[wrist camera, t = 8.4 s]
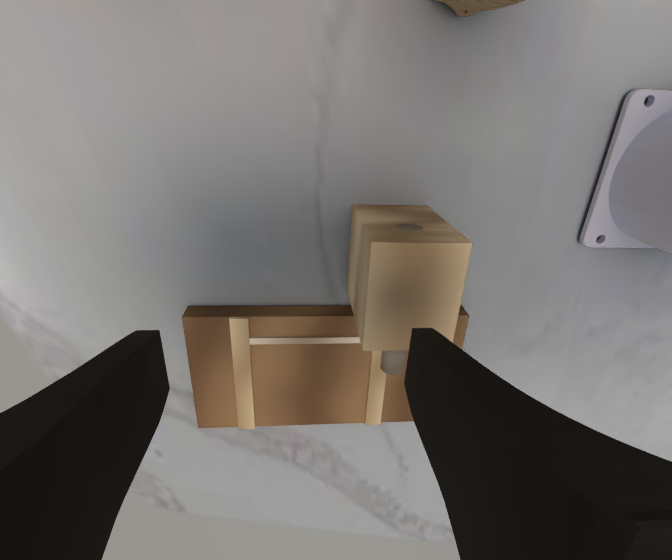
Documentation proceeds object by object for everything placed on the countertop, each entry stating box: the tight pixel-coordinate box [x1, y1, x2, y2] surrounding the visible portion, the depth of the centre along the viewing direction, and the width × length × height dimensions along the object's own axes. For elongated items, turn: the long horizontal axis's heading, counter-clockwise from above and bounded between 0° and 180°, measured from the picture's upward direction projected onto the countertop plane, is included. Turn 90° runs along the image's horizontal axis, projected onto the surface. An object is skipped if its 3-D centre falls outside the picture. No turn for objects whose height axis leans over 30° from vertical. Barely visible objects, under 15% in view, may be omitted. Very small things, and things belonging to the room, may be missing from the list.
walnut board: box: [182, 305, 469, 429], centre depth 23 cm, size 16×8×1 cm, turn 88°
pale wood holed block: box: [348, 204, 472, 375], centre depth 19 cm, size 4×8×6 cm, turn 178°
